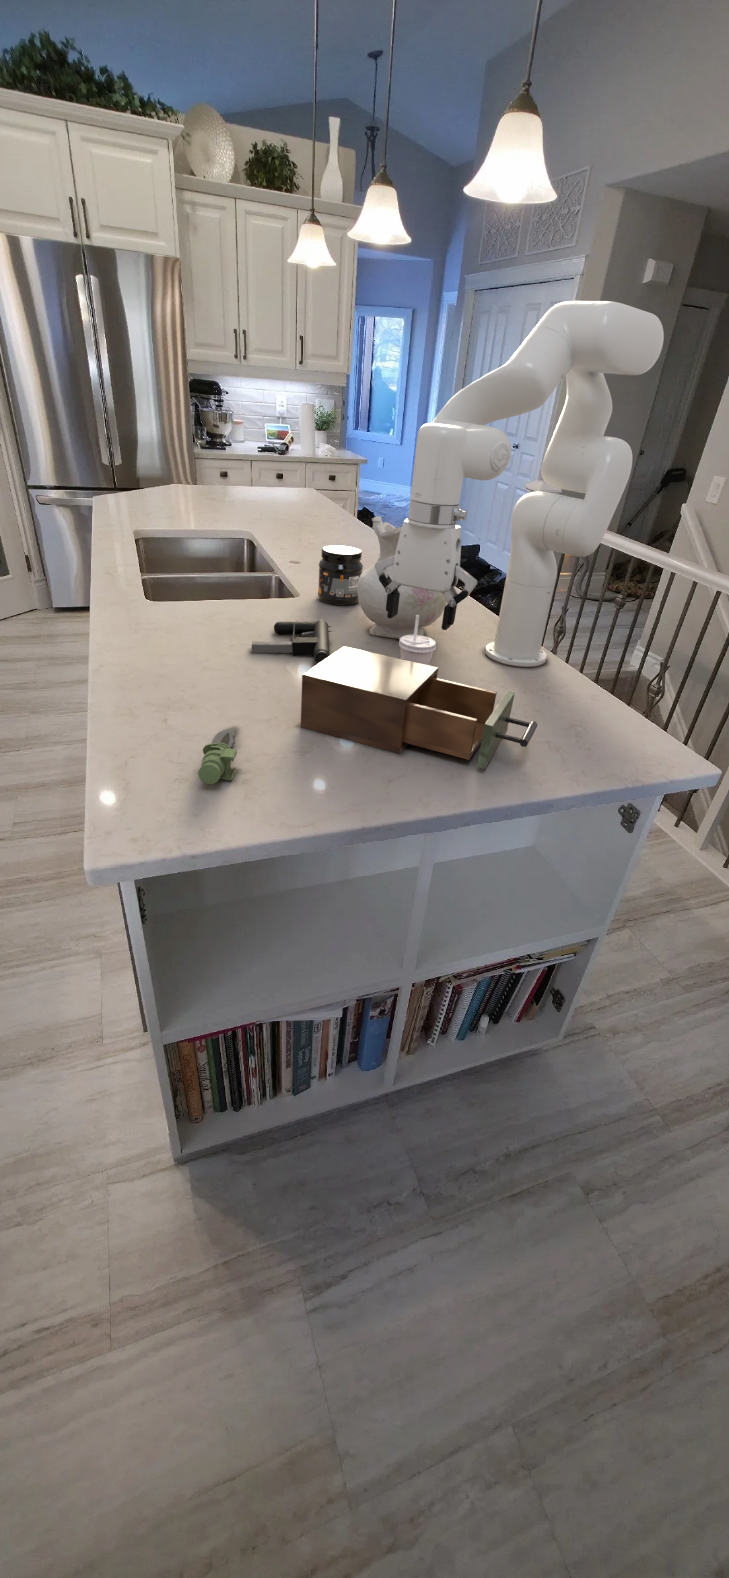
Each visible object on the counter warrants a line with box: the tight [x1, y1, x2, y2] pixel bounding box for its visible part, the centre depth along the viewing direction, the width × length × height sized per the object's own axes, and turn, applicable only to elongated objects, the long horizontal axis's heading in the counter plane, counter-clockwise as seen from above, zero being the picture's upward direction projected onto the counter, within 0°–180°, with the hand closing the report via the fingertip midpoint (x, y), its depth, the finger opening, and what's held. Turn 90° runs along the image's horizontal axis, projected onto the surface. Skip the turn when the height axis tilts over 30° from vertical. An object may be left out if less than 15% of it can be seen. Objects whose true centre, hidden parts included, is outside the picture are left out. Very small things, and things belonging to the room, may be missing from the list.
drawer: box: [403, 677, 538, 770], centre depth 102 cm, size 20×14×7 cm, turn 66°
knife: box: [198, 728, 238, 785], centre depth 95 cm, size 4×18×5 cm
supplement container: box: [317, 544, 364, 606], centre depth 163 cm, size 10×10×12 cm
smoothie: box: [398, 615, 437, 666], centre depth 117 cm, size 6×6×14 cm
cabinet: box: [300, 645, 439, 755], centre depth 107 cm, size 17×15×9 cm
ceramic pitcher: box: [357, 515, 447, 640], centre depth 143 cm, size 22×20×25 cm
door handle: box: [251, 619, 332, 664], centre depth 135 cm, size 3×20×16 cm
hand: (418, 622), depth 114 cm, fingers open, 9 cm apart
